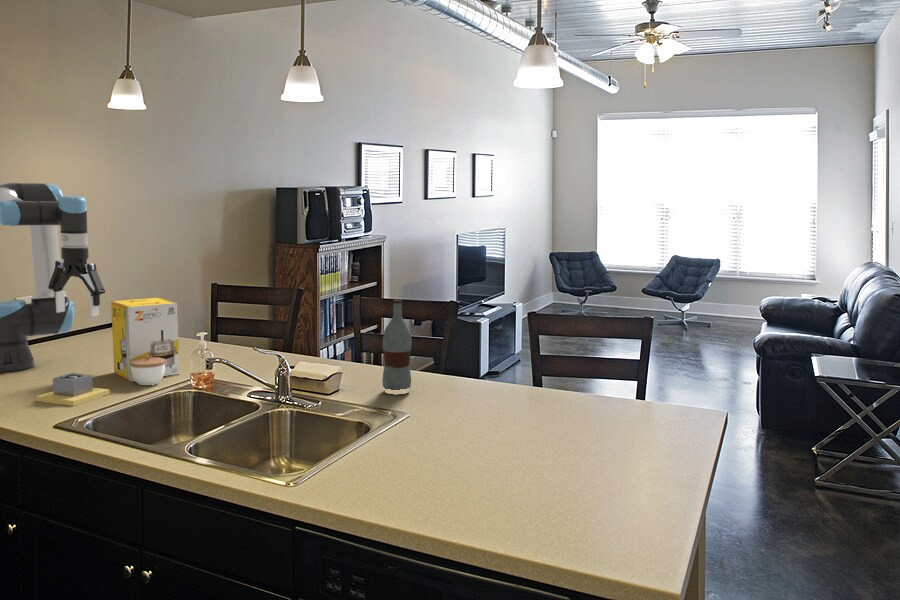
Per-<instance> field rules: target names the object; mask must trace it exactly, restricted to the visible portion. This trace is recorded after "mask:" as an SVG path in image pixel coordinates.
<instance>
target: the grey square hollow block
mask: <svg viewBox="0 0 900 600" xmlns="http://www.w3.org/2000/svg"><path fill="white" fill-rule="evenodd" d="M69 376H77V378H75V379H68V377H69ZM93 385H94V384H93V375H92V374H86V373H85V374H84V373H78V372H77V373H75V372H71V373H67V374H64V375H60V376H57V377H53V378H52V388H53V393H54V395H61V396H69V397H76V396H79V395H82V394H85V393H88V392H91V391H93V388H94V386H93Z"/></svg>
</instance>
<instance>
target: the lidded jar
mask: <svg viewBox="0 0 900 600" xmlns="http://www.w3.org/2000/svg"><path fill="white" fill-rule="evenodd" d="M130 367H131V374H132V377H133V379H134V380H135V381H134V382H135V383H137V384H138V385H139V384H140V385H152V384H156V383H158V382H159V383H160V382H161V381H162V379H163V378H164V377H163V376H164V373H165V359H163V358H159V357H149V355H147V356H146V358H138V359H134V360H132V361H130ZM159 383H158V384H159ZM140 385H139V386H140ZM152 386H153V385H152Z"/></svg>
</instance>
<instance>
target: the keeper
mask: <svg viewBox="0 0 900 600" xmlns="http://www.w3.org/2000/svg"><path fill="white" fill-rule="evenodd" d="M75 378H77V376H69V377H68V379H75ZM110 392H111V391H110V389H108V388H99V387H93V391H91V392H88V393H85V394H82V395H79V396H76V397H69V396H61V395H54V393H53V391H50V392H46V393H42V394H39V395H36V396H35V397H36V398H35V399H36V402H40V401H41V402H40V403H48V404H56V405H62V404H63V405H64V406H70V405H71V406H73V407H76V406H79V405H81V404H80V403H82V404H84V403H83V402H85V403H87V402H86V401H88V402H90V401H89V400H91V401H93V400H92V399H94V400H96V399H95V398H97V397H100V398H102V397H101V396H103V397H105V396H104V395H106V396H108V395H107V394H109V395H110ZM97 399H98V398H97ZM78 404H79V405H78ZM75 405H76V406H75ZM71 406H70V407H71Z"/></svg>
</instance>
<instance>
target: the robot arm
mask: <svg viewBox="0 0 900 600" xmlns="http://www.w3.org/2000/svg"><path fill="white" fill-rule="evenodd" d="M87 210H88V206H87V199H86V198H85V197H83V196H73V195H72V196H71V195H70V196H68V195H67V196H64V194H63V192H62V190H61V188H60V187H59V186H58V185H57V184H54V183H53V184H51V183H29V182H28V183H25V182H24V183H23V182H22V183H19V182H10V183H9V182H8V183H2V184H0V225H1V226H11V227H15V226H28V227H29V231H30V242H31V243H30V244H31V257H32V268H33V270H32V271H33V281H34V292H35V293H34V294H33V295H32V297H30V303H27V302H26V301H25V299H13V300H12V299H10V300H4V301H1V302H0V373H8V372H18V370H19V371H23V369H24V370H27V368H28V369H31V368H34V366H35V358H34V357H33V354H32V351H31V349H30V347H29V343H28V337H34V336H35V337H36V336H47V335H59V334H65V333H69V332H70V331H71V329H72V327H73V324H74V318H75V308H74V307H75V306H74V303H73V301H72V300H68V299H69V298H68V295H67V294H66V293H65V290H64V288H65V285H67V283H68V282H69V280H70V279H71V277H75V278H79V279H81V281H82V282H83V284H84V285H85V287H86V289H88V291H89V292H90V295H89V312H90V313H89V314H90V315H89V316H90V317H98V316H100V308H99V307H100V305H101V300H100V299H101V298H100V297H101V295H102V294H105V293H106V290H105V287H104V285H103V282H102V280H101V278H100V275H99V273H98V271H97V266H96V265H97V264H96V263H95V262H92V263H88V262H87V260H88V259H89V248H88V247H87V246H88V245H89V236H88V214H87V212H88V211H87ZM58 226H60V227H59V228H60V245H61V246H62V247H61V249H60V248H59V236H58ZM60 253H61V254H60ZM60 255H61V257H60ZM60 258H61V259H62V260H61V259H60ZM30 367H31V368H30Z"/></svg>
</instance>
